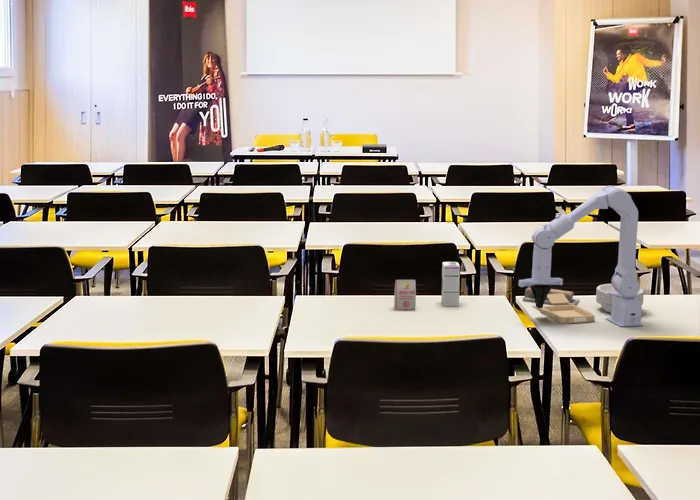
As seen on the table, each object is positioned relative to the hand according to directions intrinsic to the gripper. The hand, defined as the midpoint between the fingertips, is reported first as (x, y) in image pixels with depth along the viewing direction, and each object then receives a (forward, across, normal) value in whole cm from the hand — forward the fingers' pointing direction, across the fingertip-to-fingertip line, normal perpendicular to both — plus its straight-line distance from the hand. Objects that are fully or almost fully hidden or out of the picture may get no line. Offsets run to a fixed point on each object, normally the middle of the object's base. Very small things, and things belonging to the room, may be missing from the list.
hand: (539, 307), depth 272 cm
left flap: (+2, +5, 0) cm, 5 cm away
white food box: (+5, -38, +23) cm, 45 cm away
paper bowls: (+5, +32, +5) cm, 33 cm away
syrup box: (+5, -21, +25) cm, 33 cm away
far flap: (+2, +13, +10) cm, 16 cm away
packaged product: (+5, +16, +22) cm, 27 cm away
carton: (+4, +11, +2) cm, 12 cm away
